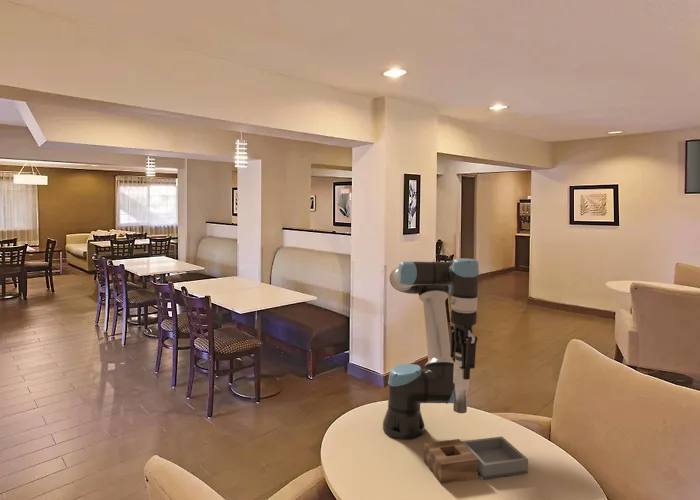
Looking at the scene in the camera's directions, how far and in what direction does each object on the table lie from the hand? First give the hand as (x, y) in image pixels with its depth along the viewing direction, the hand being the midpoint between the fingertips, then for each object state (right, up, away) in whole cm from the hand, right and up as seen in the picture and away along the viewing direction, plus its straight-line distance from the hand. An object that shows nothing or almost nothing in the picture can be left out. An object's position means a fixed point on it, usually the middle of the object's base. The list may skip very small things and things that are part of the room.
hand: (461, 385), depth 135 cm
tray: (+12, -26, +6) cm, 29 cm away
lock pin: (0, -8, +1) cm, 8 cm away
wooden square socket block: (-3, -27, +2) cm, 27 cm away
